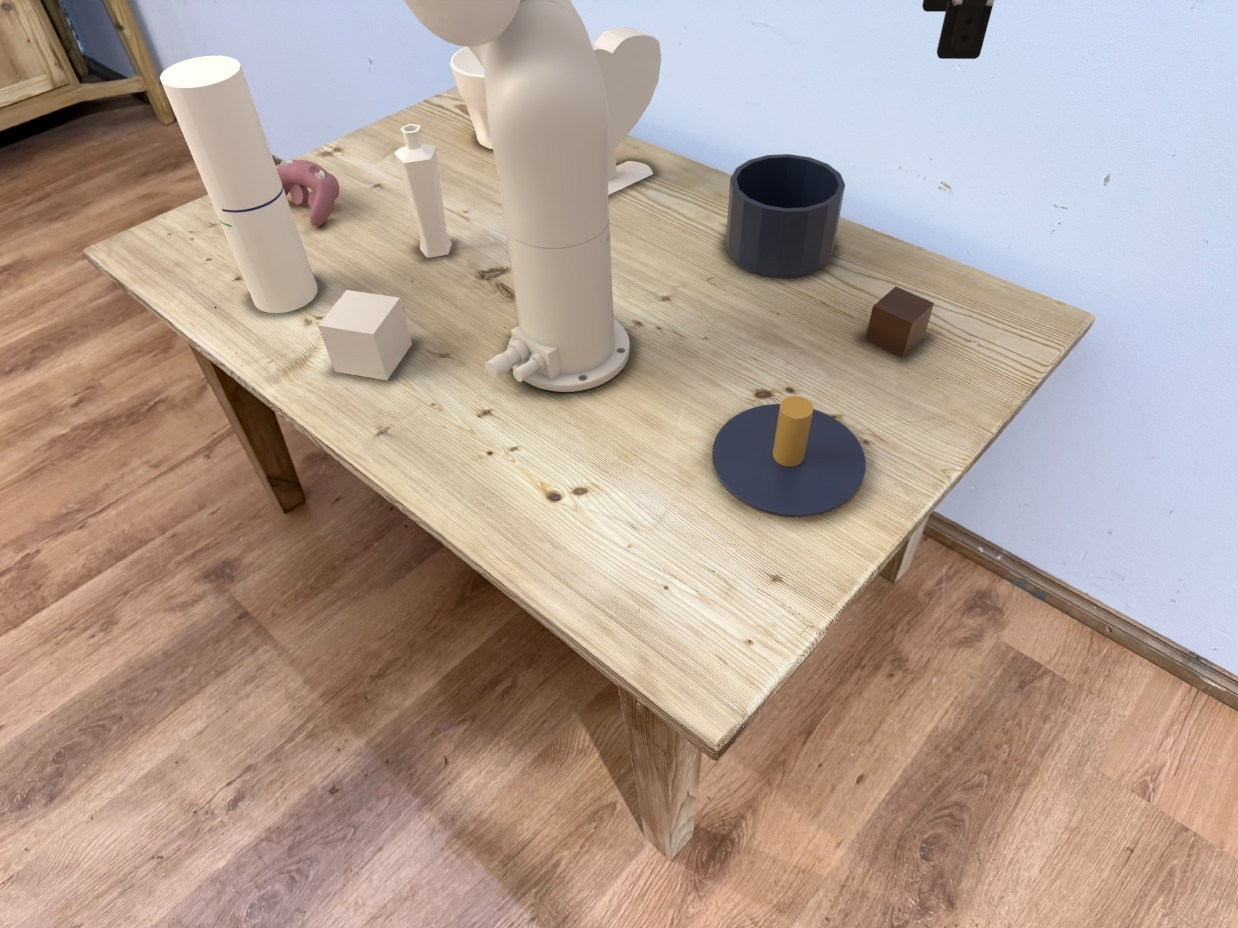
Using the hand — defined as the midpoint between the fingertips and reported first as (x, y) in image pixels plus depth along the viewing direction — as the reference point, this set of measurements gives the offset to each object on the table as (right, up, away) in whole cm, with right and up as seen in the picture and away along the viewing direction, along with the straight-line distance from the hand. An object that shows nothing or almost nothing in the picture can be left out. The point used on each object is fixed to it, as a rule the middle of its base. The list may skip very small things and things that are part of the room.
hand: (948, 32), depth 70 cm
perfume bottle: (-49, -10, +33) cm, 60 cm away
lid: (-12, -35, +7) cm, 38 cm away
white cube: (-53, -24, +19) cm, 61 cm away
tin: (-8, -10, +31) cm, 33 cm away
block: (+2, -22, +19) cm, 29 cm away
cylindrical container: (-65, -16, +27) cm, 73 cm away
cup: (-43, +11, +52) cm, 68 cm away
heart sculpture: (-29, +2, +42) cm, 51 cm away
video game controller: (-67, -3, +40) cm, 78 cm away
